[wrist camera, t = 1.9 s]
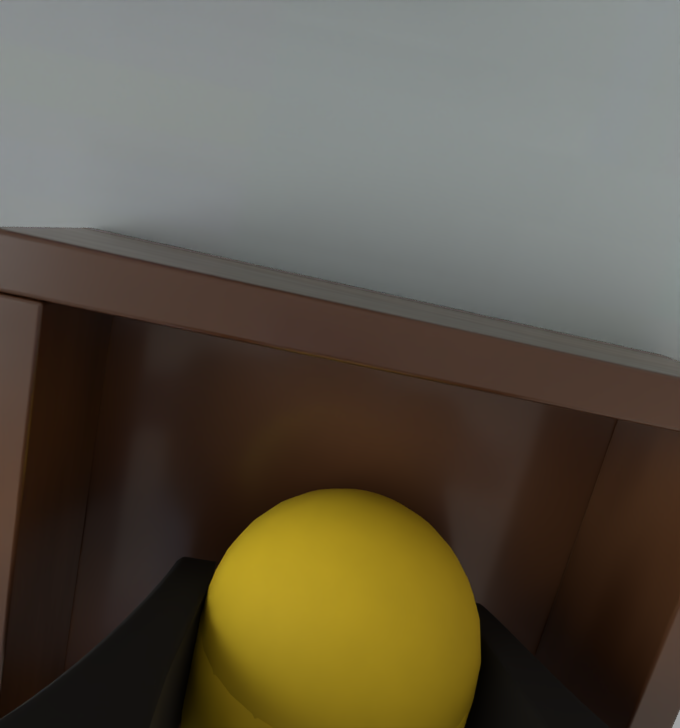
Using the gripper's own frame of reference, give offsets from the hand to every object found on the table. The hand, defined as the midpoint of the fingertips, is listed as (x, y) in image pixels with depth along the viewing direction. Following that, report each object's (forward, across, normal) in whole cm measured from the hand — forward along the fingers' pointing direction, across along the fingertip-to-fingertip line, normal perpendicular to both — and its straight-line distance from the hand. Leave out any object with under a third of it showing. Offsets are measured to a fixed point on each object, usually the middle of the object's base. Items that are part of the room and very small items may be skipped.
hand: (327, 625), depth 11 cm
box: (+2, 0, 0) cm, 2 cm away
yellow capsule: (+1, 0, 0) cm, 1 cm away
